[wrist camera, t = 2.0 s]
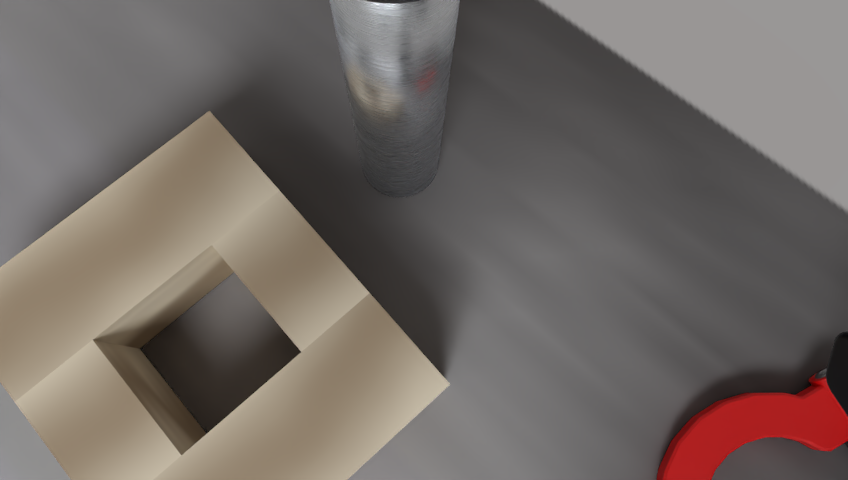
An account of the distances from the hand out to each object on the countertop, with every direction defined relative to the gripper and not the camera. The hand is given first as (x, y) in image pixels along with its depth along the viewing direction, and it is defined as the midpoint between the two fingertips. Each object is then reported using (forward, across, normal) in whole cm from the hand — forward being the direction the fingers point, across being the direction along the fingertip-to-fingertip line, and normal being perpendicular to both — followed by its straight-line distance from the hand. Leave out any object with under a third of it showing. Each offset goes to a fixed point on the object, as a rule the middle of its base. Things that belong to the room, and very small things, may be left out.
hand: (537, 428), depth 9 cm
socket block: (+12, +8, +8) cm, 16 cm away
